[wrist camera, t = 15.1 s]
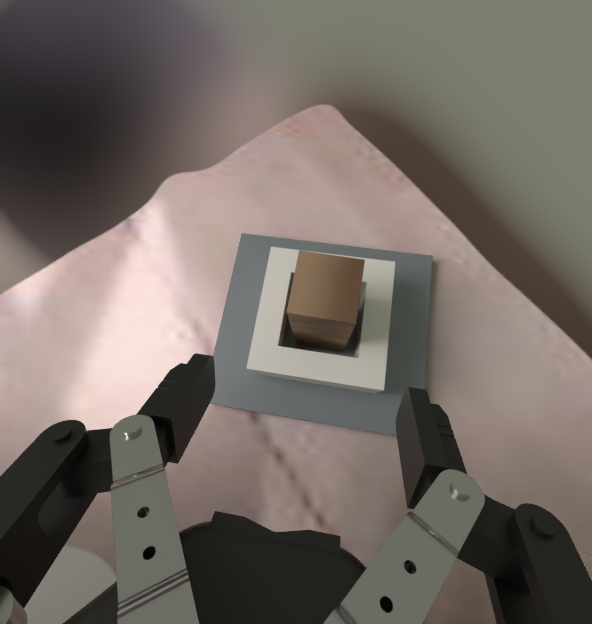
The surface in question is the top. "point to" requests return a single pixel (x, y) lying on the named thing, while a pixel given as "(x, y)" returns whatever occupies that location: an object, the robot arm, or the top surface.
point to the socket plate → (317, 362)
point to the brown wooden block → (324, 300)
